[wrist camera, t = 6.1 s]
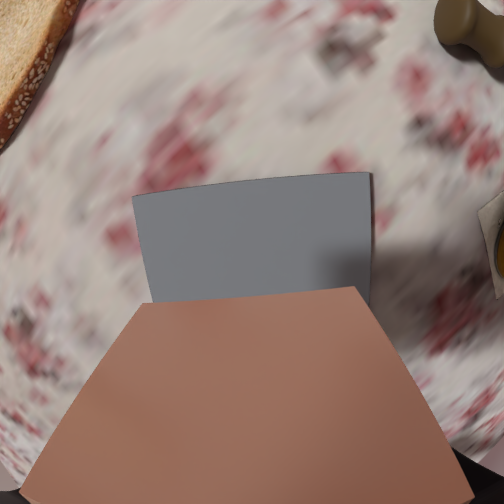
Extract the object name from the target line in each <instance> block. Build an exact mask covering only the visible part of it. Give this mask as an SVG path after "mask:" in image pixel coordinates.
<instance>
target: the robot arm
mask: <svg viewBox="0 0 504 504" xmlns="http://www.w3.org/2000/svg"><path fill="white" fill-rule="evenodd" d="M450 447H451V446H450ZM451 449H452V451H453V452H454V454H455V456H456V458H457V460H458V462H459V464H460V467H461V469H462V471H463V473H464V475H465V477H466V479H467V481H468V483H469V485H470V487H471V490H472V492H473V494H474V496H475V497H474V499H473V500H472V501H471V502H470V503H469V504H504V477H503V476H501V475H499V474H497V473H495V472H493V471H491V470H489V469H487V468H485V467H484V466H481V465H480V464H478V463H476V462H474V461H473V460H471V459H469V458H467V457H466V456H464V455H463V454H461V453H460V452H458V451H457V450H455V449H454V448H452V447H451ZM20 489H21V488H18V489H16V490H12V491H0V504H31V503H30V502H29V501H28V500H27V499H25V498H24V497H23V496H22V495H21V494H20V493H19V490H20Z"/></svg>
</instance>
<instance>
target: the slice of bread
mask: <svg viewBox="0 0 504 504" xmlns="http://www.w3.org/2000/svg"><path fill="white" fill-rule="evenodd" d="M78 3H79V0H0V149H1V148H2V147H3V145H4V144H5V143H6V141H7V140H8V139H9V138H10V136H11V135H12V134H13V132H14V130H15V129H16V128H17V126H18V125H19V123H20V121H21V119H22V117H23V115H24V113H25V111H26V110H27V108H28V107H29V105H30V103H31V101H32V99H33V97H34V95H35V93H36V91H37V90H38V88H39V86H40V84H41V82H42V80H43V78H44V76H45V75H46V73H47V72H48V70H49V68H50V65H51V63H52V60H53V57H54V54H55V51H56V48H57V46H58V44H59V42H60V40H61V39H62V37H63V36H64V34H65V33H66V31H67V29H68V27H69V25H70V22H71V19H72V17H73V15H74V13H75V11H76V8H77V6H78Z"/></svg>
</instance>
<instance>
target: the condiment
mask: <svg viewBox="0 0 504 504" xmlns="http://www.w3.org/2000/svg"><path fill="white" fill-rule="evenodd" d="M477 214H478V217H479V220H480V223H481V228H482V232H483V234H484V239H485V243H486V246H487V252H488V257H489V263H490V268H491V272H492V278H493V284H494V290H495V295H496V299H497V300H498V299H499V298H500V297H501V296H502V295H503V294H504V191H503V192H501V193H499V195H498V196H497V197H495V198H494V199H493V200H491V201H490V202H489V203H487V204H486V205H485V206H484V207H483V208H481V209H480V210H479V211H477ZM500 219H501V221H500V223H499V220H500ZM498 225H500V227H499V228H498Z"/></svg>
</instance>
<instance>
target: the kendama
mask: <svg viewBox="0 0 504 504" xmlns="http://www.w3.org/2000/svg"><path fill="white" fill-rule="evenodd" d="M434 30H435V33H436V35H437V38H438V40H439V41H440V42H441V43H443V44H445V45H448V46H451V45H455V44H459V43H462V44H465V45H468V46H469V47H471V48H473V49H474V50H476V51H477V52H478V53H479V54H480V55H481V57H482V59H483V61H484V63H485V64H487V65H488V66H490V67H491V68H500V67H502V66H504V16H502V15H495V14H493V13H492V12H490V11H489V10H488V9H486V8H485V7H484V6H483V5H482V4H481V3H480V2H479V1H478V0H439V1H438V3H437V6H436V9H435V15H434Z"/></svg>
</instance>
